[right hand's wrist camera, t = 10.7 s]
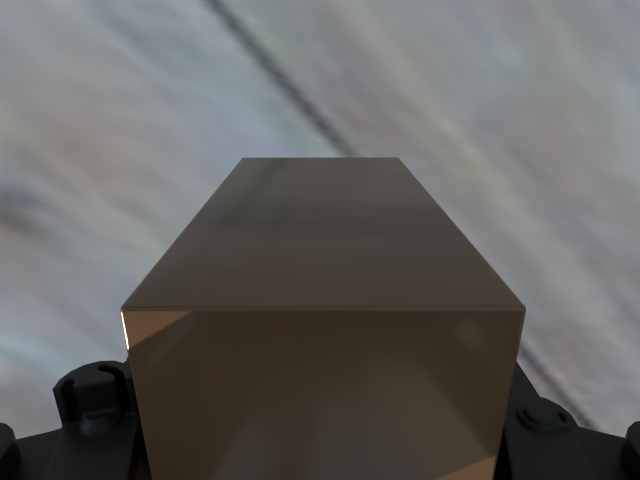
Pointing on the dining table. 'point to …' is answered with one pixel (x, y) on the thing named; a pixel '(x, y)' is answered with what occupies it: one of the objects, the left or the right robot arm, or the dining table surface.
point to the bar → (322, 333)
